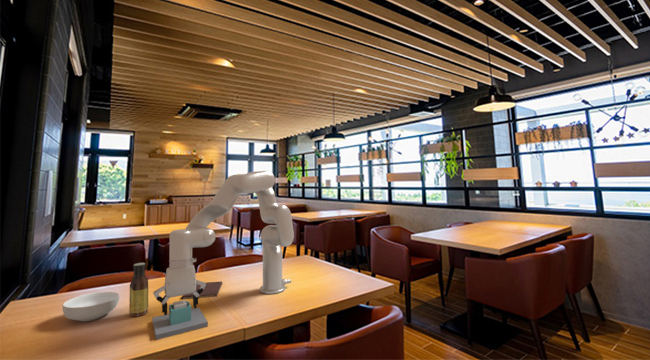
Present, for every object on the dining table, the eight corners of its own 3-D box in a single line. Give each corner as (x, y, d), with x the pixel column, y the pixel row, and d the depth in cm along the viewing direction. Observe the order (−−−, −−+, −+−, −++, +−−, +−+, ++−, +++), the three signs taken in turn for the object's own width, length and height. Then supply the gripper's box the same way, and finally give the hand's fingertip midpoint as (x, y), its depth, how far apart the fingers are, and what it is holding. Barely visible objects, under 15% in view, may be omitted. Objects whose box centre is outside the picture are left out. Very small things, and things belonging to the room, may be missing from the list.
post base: (198, 311, 113) (199, 292, 114) (207, 326, 100) (208, 304, 101) (152, 321, 104) (152, 301, 105) (155, 340, 91) (156, 316, 91)
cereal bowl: (71, 331, 97) (72, 310, 98) (55, 320, 106) (55, 301, 106) (126, 313, 112) (127, 295, 112) (108, 305, 120) (108, 288, 121)
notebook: (222, 284, 149) (222, 280, 149) (216, 297, 130) (216, 293, 130) (192, 286, 146) (192, 282, 146) (181, 300, 127) (181, 296, 127)
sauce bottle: (135, 311, 114) (136, 261, 115) (151, 310, 114) (152, 261, 115) (125, 318, 107) (126, 265, 108) (142, 317, 108) (143, 265, 109)
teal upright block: (187, 314, 107) (188, 301, 107) (191, 320, 102) (191, 306, 102) (168, 318, 103) (169, 304, 103) (171, 325, 98) (171, 310, 98)
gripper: (203, 258, 111) (203, 301, 111) (152, 265, 101) (152, 313, 101) (208, 261, 105) (207, 308, 105) (154, 269, 95) (153, 320, 95)
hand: (180, 310), depth 103 cm, fingers open, 9 cm apart
